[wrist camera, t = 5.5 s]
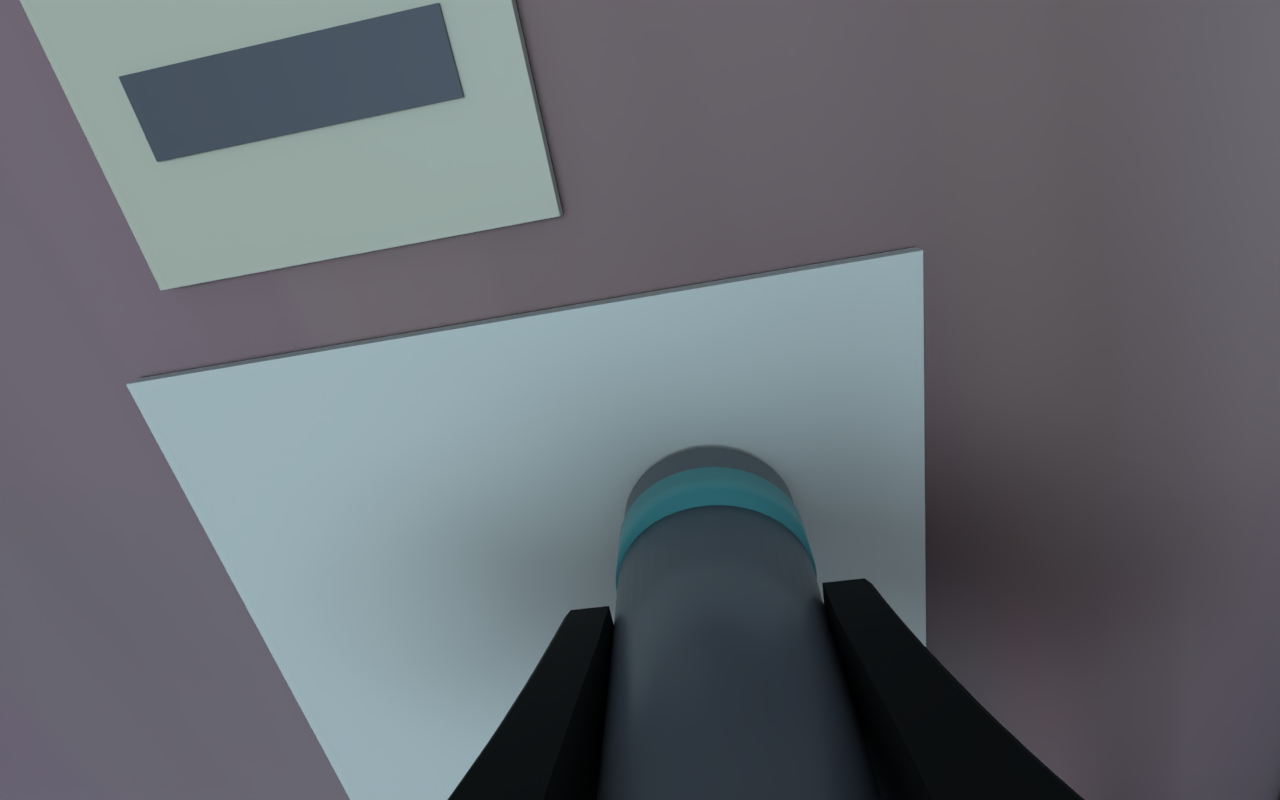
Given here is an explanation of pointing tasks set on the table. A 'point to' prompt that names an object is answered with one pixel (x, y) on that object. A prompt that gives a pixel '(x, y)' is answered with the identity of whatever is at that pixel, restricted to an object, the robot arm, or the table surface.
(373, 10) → the plate
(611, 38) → the table surface
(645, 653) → the marker
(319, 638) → the paper
